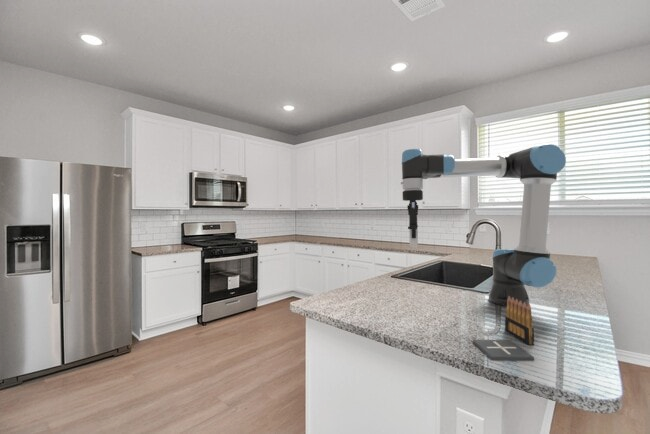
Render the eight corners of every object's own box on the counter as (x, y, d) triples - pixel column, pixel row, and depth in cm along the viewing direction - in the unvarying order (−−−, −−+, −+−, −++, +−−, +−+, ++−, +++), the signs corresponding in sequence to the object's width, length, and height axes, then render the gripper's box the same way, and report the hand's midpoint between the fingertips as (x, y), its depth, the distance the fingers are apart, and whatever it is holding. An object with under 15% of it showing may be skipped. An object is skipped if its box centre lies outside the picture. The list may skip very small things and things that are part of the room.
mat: (510, 342, 92) (510, 339, 92) (534, 360, 81) (534, 356, 81) (473, 342, 92) (473, 339, 92) (491, 359, 81) (491, 356, 81)
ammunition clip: (504, 331, 100) (504, 295, 100) (510, 331, 100) (509, 294, 100) (528, 345, 90) (528, 304, 89) (534, 345, 90) (534, 304, 90)
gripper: (402, 192, 131) (403, 241, 131) (402, 188, 107) (403, 248, 107) (421, 191, 129) (421, 242, 129) (424, 187, 105) (425, 249, 105)
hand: (413, 245), depth 118 cm, fingers open, 13 cm apart
